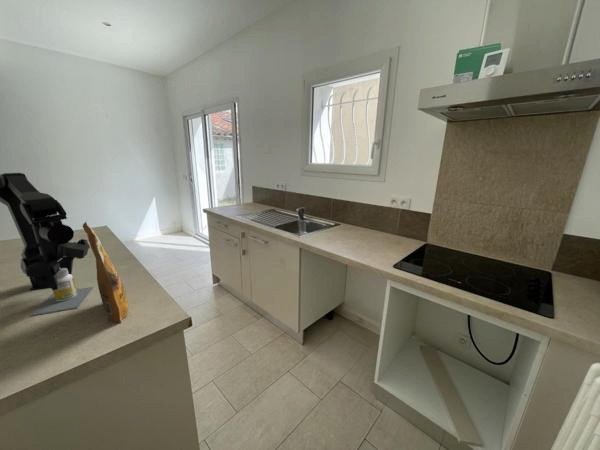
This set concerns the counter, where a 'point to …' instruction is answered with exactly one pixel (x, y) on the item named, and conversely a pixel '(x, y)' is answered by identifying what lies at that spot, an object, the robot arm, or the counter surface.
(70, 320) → the counter surface
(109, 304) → the pancake mix bag
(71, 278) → the supplement bottle
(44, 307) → the mat
